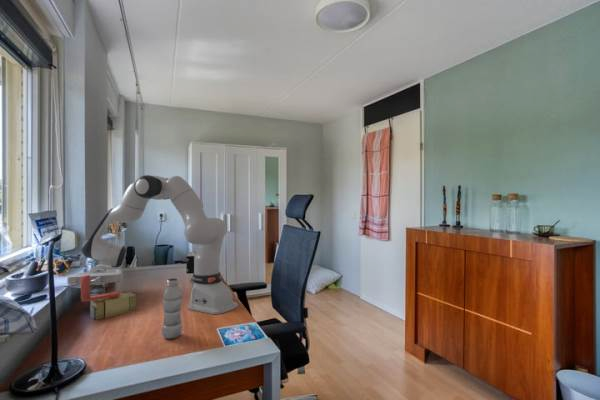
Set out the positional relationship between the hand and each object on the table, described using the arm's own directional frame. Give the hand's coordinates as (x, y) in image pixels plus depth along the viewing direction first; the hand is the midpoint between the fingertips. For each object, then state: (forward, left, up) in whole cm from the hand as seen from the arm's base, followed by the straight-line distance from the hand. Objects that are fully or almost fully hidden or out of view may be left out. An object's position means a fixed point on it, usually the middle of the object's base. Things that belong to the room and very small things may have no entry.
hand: (90, 282), depth 129 cm
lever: (-6, -1, -6) cm, 9 cm away
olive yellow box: (-7, -6, -13) cm, 16 cm away
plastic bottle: (-47, -7, -13) cm, 49 cm away
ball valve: (+6, -56, -13) cm, 58 cm away
